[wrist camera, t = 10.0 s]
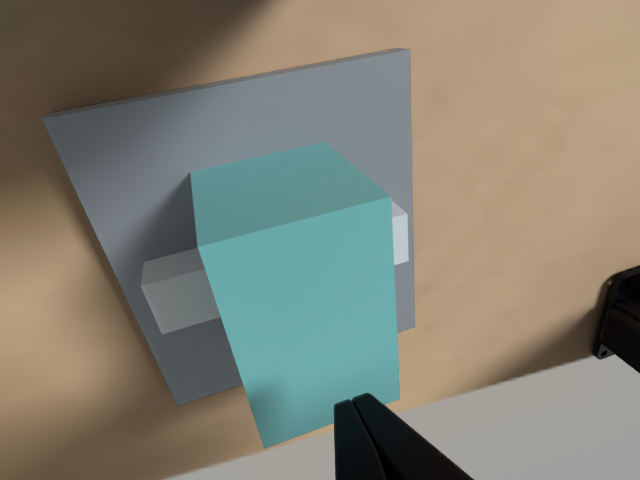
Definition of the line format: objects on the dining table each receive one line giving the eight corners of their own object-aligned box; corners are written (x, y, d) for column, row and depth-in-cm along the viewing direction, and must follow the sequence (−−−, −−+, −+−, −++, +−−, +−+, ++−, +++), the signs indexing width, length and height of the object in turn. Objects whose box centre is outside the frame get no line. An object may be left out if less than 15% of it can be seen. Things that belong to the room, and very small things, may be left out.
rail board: (398, 47, 14) (434, 52, 12) (406, 316, 20) (431, 348, 18) (49, 113, 12) (24, 132, 10) (177, 391, 18) (177, 436, 16)
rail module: (325, 141, 14) (391, 196, 10) (346, 306, 17) (400, 398, 13) (190, 171, 13) (197, 247, 9) (241, 339, 17) (264, 448, 12)
